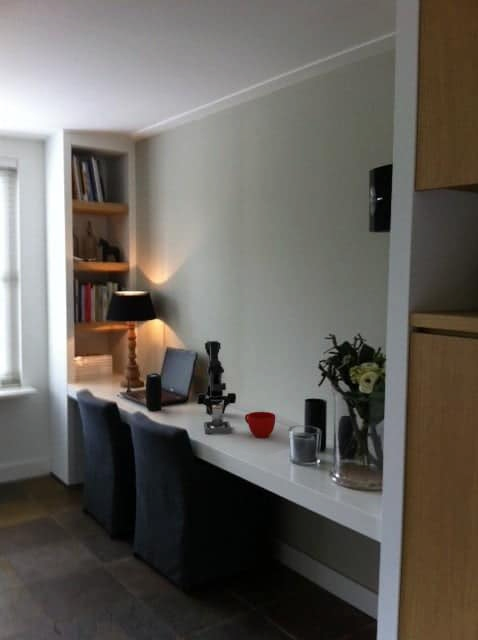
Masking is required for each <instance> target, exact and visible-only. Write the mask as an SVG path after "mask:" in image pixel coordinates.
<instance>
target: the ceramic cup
mask: <svg viewBox="0 0 478 640" xmlns="http://www.w3.org/2000/svg"><path fill="white" fill-rule="evenodd" d="M244 420H245V422H246V424H247V425H248V429H249V431H250V432H251V434H252V435H253V436H254V437H255V438H257V439H258V438H259V439H265V438H269V436H270V435H271V434H272V432H273V431H274V428H275V426H276V414H275V413H273V412H268V411H254V412H253V411H252V412H250V413H247V414H245V415H244Z"/></svg>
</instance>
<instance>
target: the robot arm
mask: <svg viewBox="0 0 478 640" xmlns="http://www.w3.org/2000/svg"><path fill="white" fill-rule="evenodd" d="M221 346H222V345H221V342H219V341H218V340H211V341H210V340H207V341H206V342H205V343H204V351H205V354H206V355H207V357H208V366H207V367H206V368H207V374H208V376H209V384H208V386H207V388H206V391H205V393H198V394H197V396H196V397H197V398H196V399H197V401H196V402H197V404H198V405H203V406H205V408H206V409H205V413H207V414H208V415H210V416H212V404H223V415H224V414H225V411H226V408H227V407H228V406H229V405H230V404H236V402H237V401H236V400H237V394H236V393H235V392H228V393H227V395H224V393H223V391H226V390H227V386H226V385H227V384H226V382H222V377H223V374H224V373H225V369H224V367H223V366H222V363H221V361H220V360H219V354H220V350H221Z"/></svg>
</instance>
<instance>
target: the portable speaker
mask: <svg viewBox="0 0 478 640" xmlns="http://www.w3.org/2000/svg"><path fill="white" fill-rule="evenodd" d="M162 385H163V382H162V375H161V374H159V373H156V372H154V373H150V374H146V379H145V403H146V405H145V406H146V409H147V410H148V411H149V412H155V411H156V410H159V411H161V410H162V403H163V394H162V393H163V392H162V391H163V389H162V388H163V387H162Z"/></svg>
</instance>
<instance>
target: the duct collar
mask: <svg viewBox="0 0 478 640" xmlns="http://www.w3.org/2000/svg"><path fill="white" fill-rule="evenodd" d="M211 425H212V421H204V422H203V428H204V434H205V435H209V434H208V433H224V434H232V427H231V424H230V421H229V420H227V421H226V420H225V421H224V420H223V425H224V426H225V428H210V426H211Z"/></svg>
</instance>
